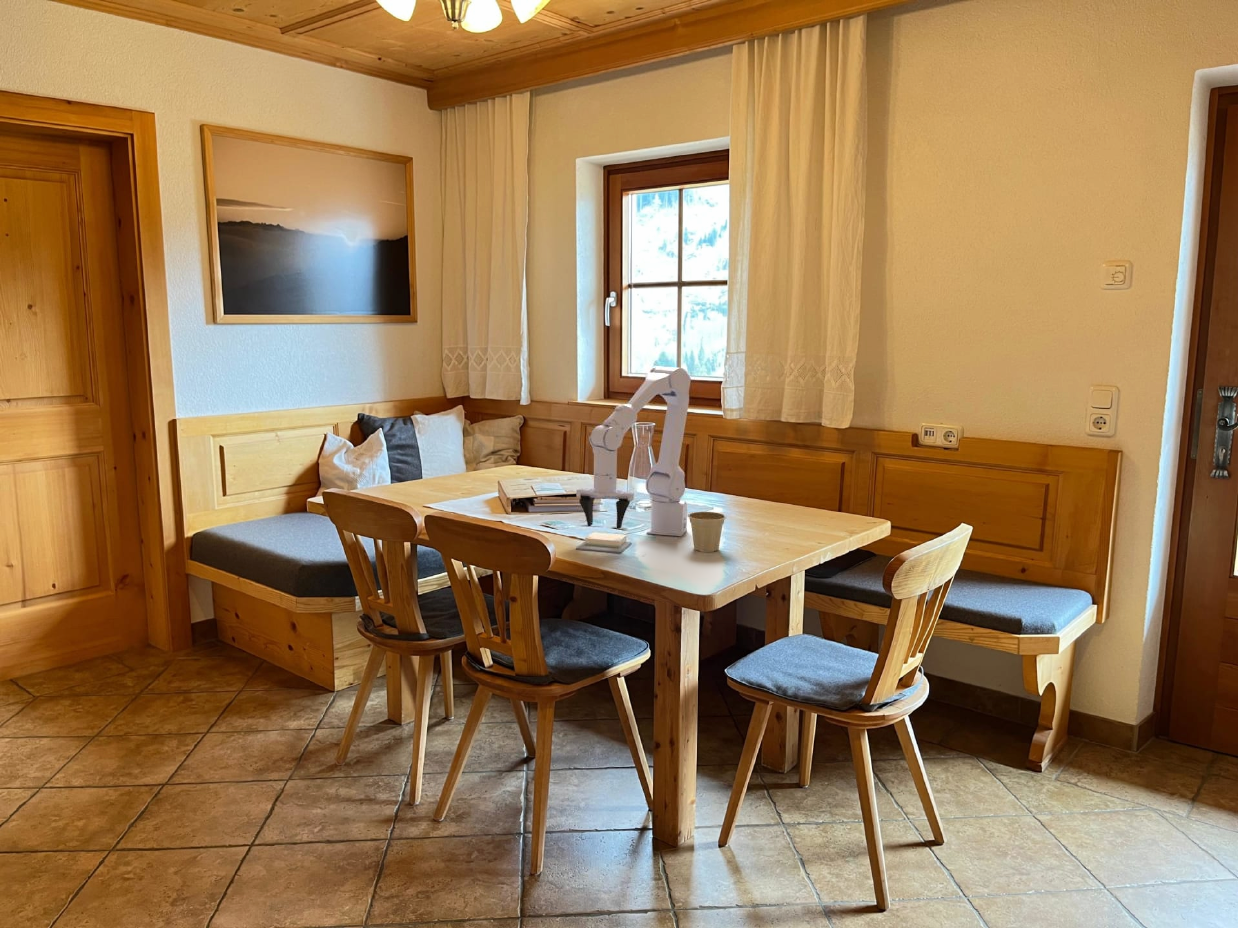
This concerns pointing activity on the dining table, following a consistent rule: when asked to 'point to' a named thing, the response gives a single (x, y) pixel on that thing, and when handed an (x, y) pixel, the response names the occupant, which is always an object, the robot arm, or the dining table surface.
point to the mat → (604, 548)
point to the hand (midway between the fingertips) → (604, 526)
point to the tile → (605, 539)
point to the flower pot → (706, 530)
